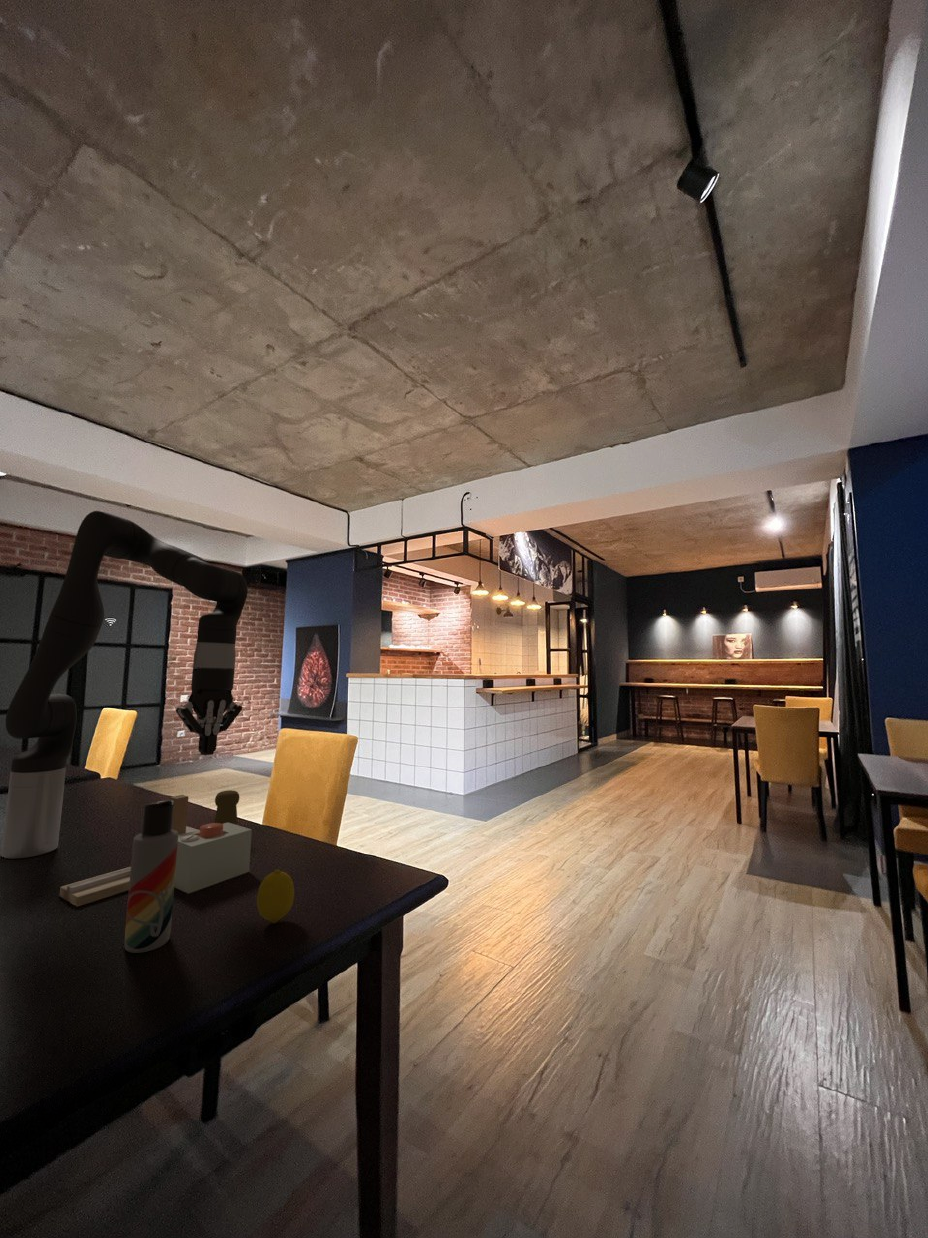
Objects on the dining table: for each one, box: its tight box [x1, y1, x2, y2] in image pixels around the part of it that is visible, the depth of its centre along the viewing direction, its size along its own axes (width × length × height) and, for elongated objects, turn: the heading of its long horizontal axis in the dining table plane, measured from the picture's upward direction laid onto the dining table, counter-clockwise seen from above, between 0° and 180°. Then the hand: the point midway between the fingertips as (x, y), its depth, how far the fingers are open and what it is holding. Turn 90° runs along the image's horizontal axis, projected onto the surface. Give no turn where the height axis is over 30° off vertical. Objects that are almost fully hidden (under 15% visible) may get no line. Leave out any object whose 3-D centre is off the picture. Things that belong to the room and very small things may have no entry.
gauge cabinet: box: [174, 823, 253, 895], centre depth 96 cm, size 8×12×8 cm, turn 148°
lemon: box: [256, 869, 295, 924], centre depth 79 cm, size 6×6×8 cm
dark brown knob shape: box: [213, 789, 240, 826], centre depth 116 cm, size 6×6×11 cm
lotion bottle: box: [123, 799, 178, 954], centre depth 73 cm, size 6×6×20 cm
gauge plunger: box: [199, 822, 223, 839], centre depth 96 cm, size 4×4×6 cm
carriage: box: [169, 794, 198, 835], centre depth 100 cm, size 6×7×11 cm
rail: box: [58, 866, 131, 907], centre depth 95 cm, size 7×25×4 cm, turn 148°
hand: (206, 754), depth 98 cm, fingers closed
